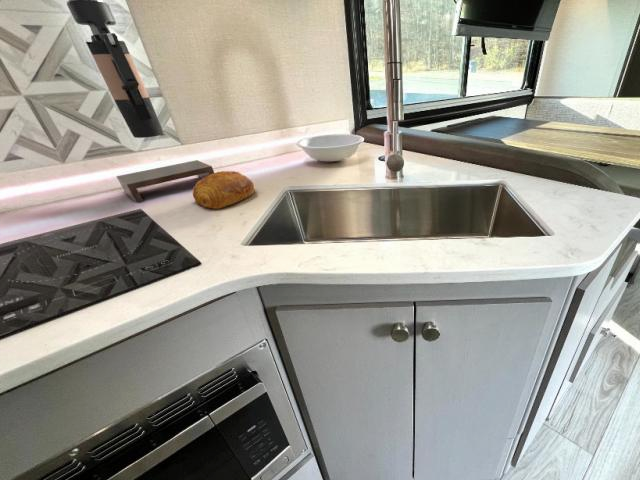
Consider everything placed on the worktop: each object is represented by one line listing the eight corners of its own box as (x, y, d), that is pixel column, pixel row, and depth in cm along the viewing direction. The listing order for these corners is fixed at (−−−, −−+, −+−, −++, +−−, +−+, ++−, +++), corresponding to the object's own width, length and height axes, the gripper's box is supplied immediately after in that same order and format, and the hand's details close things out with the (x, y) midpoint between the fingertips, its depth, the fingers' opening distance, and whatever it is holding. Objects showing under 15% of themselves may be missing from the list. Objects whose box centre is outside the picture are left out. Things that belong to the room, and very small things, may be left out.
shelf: (136, 203, 86) (126, 184, 83) (125, 193, 92) (116, 176, 89) (218, 182, 98) (211, 166, 95) (203, 176, 105) (197, 160, 102)
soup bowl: (295, 157, 122) (291, 138, 118) (354, 149, 129) (352, 131, 125) (308, 172, 104) (303, 151, 100) (375, 162, 112) (373, 142, 108)
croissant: (267, 201, 90) (262, 171, 86) (218, 213, 78) (210, 179, 73) (231, 193, 95) (225, 165, 91) (180, 204, 83) (171, 171, 78)
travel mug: (168, 131, 90) (129, 41, 78) (161, 136, 84) (118, 40, 72) (137, 134, 88) (93, 42, 76) (128, 139, 83) (78, 40, 70)
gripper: (117, -4, 66) (168, 119, 80) (97, 7, 78) (146, 113, 92) (72, -7, 62) (134, 123, 76) (58, 5, 74) (115, 117, 87)
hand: (141, 118), depth 84 cm, fingers closed on travel mug, 8 cm apart
